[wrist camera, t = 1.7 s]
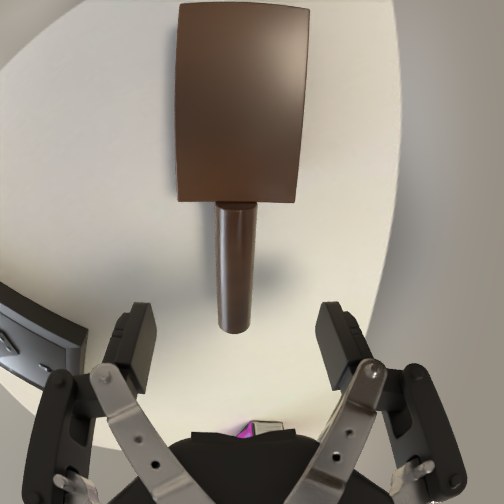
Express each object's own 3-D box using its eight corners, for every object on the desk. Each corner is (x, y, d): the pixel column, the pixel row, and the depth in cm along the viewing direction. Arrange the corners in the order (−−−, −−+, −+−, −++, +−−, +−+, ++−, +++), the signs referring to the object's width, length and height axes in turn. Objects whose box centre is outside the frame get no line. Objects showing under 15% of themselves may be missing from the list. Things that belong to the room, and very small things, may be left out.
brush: (189, 20, 10) (175, -3, 7) (295, 23, 11) (316, 3, 7) (194, 292, 20) (188, 334, 16) (272, 292, 20) (280, 333, 17)
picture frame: (-32, 328, 21) (82, 395, 28) (-40, 341, 19) (77, 412, 25) (-54, 242, 15) (88, 329, 21) (-68, 256, 12) (78, 353, 19)
